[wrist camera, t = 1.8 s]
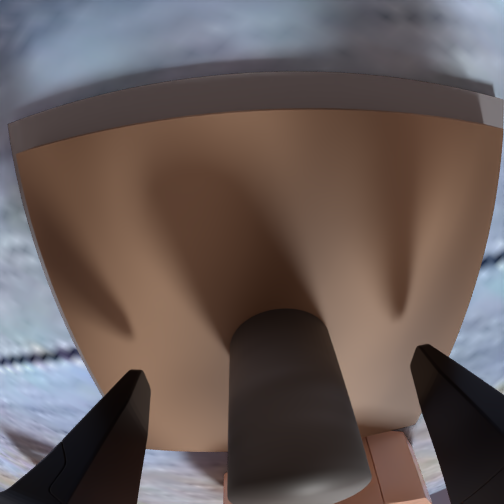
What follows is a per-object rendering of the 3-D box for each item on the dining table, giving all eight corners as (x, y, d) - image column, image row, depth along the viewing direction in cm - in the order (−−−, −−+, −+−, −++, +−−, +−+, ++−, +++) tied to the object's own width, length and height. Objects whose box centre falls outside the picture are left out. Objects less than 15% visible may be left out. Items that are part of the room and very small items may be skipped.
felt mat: (496, 98, 8) (503, 99, 7) (416, 410, 15) (419, 415, 15) (14, 122, 8) (7, 124, 7) (131, 434, 15) (130, 440, 14)
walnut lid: (483, 123, 8) (635, 182, 2) (409, 410, 14) (444, 503, 9) (34, 147, 8) (-122, 226, 2) (141, 432, 14) (123, 534, 9)
